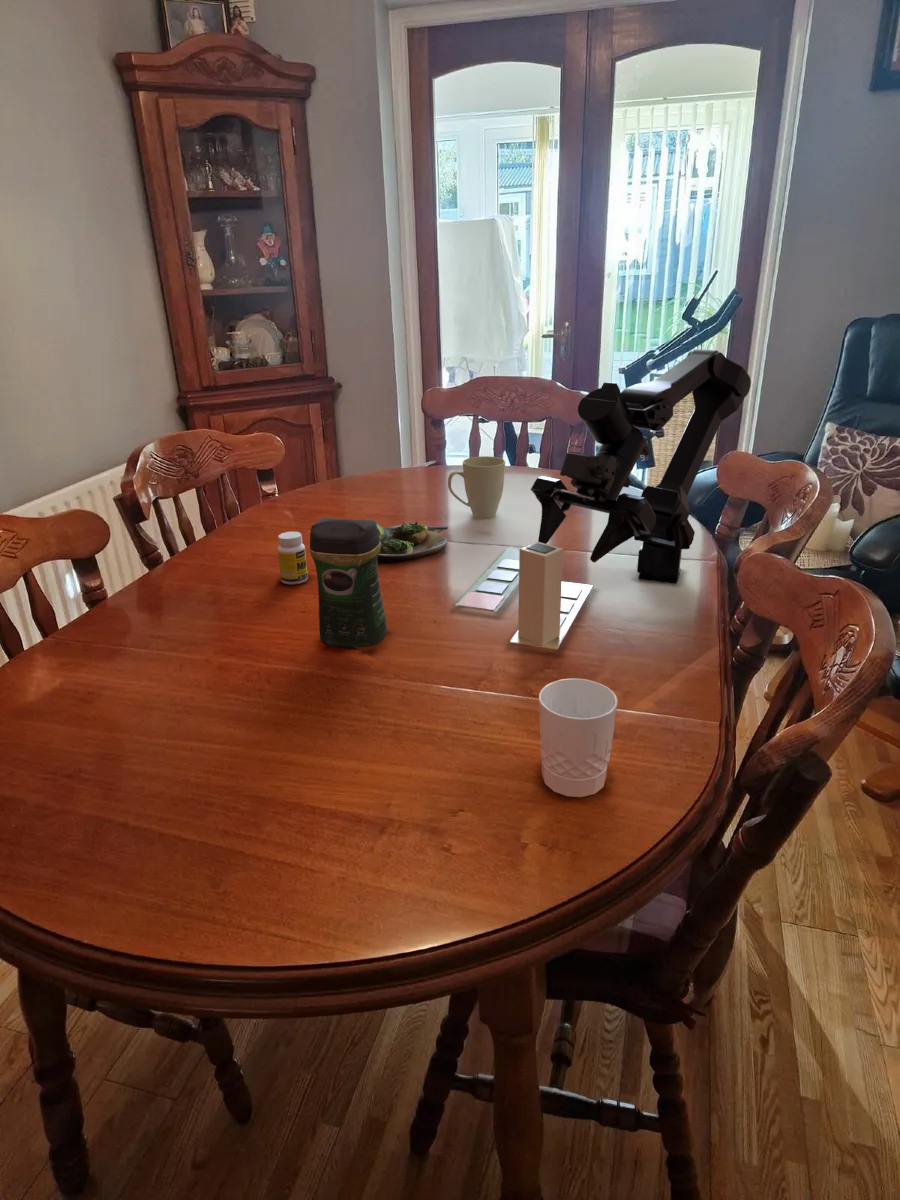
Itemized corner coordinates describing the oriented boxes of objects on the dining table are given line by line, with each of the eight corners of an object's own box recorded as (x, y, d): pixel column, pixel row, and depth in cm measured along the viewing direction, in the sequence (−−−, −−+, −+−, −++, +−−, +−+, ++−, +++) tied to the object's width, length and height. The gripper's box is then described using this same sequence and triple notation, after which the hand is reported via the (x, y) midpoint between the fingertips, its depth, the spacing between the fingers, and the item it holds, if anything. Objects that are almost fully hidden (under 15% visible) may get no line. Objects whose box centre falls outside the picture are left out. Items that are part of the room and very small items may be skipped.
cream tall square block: (535, 627, 112) (537, 540, 106) (559, 636, 109) (563, 547, 103) (517, 636, 109) (519, 547, 103) (542, 646, 106) (545, 555, 100)
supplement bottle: (302, 586, 131) (297, 540, 127) (276, 584, 131) (271, 539, 128) (312, 575, 135) (307, 531, 131) (287, 574, 136) (282, 530, 132)
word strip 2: (552, 585, 128) (552, 579, 128) (593, 590, 126) (593, 584, 125) (509, 648, 108) (509, 640, 107) (557, 655, 105) (557, 648, 105)
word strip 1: (508, 552, 143) (508, 546, 143) (543, 556, 141) (544, 550, 140) (454, 611, 120) (454, 604, 119) (496, 617, 117) (496, 610, 117)
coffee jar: (393, 630, 114) (386, 513, 106) (375, 655, 107) (366, 531, 99) (333, 625, 116) (322, 509, 109) (312, 648, 109) (299, 526, 102)
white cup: (530, 758, 84) (532, 680, 80) (600, 753, 84) (605, 675, 80) (544, 804, 77) (547, 721, 73) (620, 799, 77) (627, 716, 73)
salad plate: (430, 524, 159) (430, 503, 158) (470, 550, 145) (469, 527, 143) (343, 540, 152) (342, 518, 150) (375, 568, 137) (374, 544, 135)
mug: (475, 506, 170) (474, 454, 165) (512, 513, 165) (513, 459, 160) (446, 519, 162) (445, 464, 157) (485, 527, 157) (484, 470, 152)
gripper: (540, 422, 111) (490, 511, 108) (653, 439, 98) (599, 540, 96) (570, 464, 119) (524, 548, 116) (677, 485, 107) (628, 579, 104)
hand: (565, 553), depth 108 cm, fingers open, 9 cm apart
